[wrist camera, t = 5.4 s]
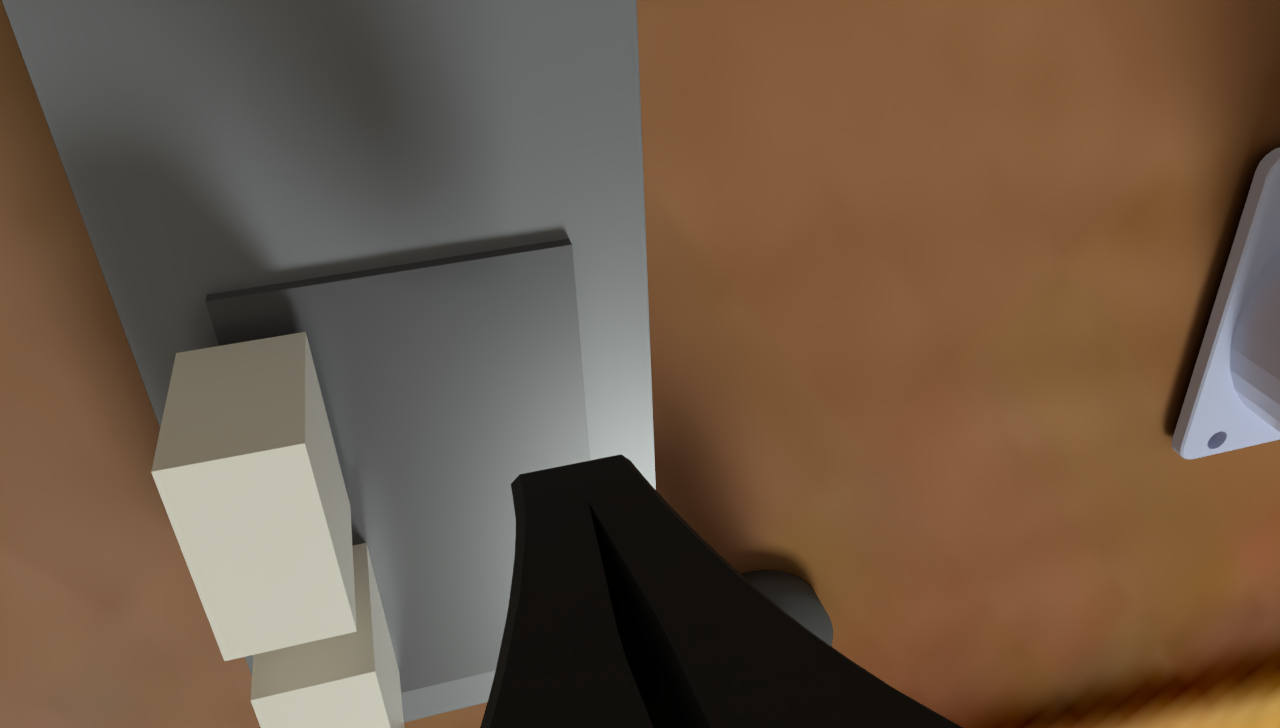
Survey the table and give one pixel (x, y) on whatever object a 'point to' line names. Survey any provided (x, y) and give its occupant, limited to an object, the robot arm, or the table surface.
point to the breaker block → (379, 272)
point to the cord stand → (794, 600)
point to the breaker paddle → (257, 495)
